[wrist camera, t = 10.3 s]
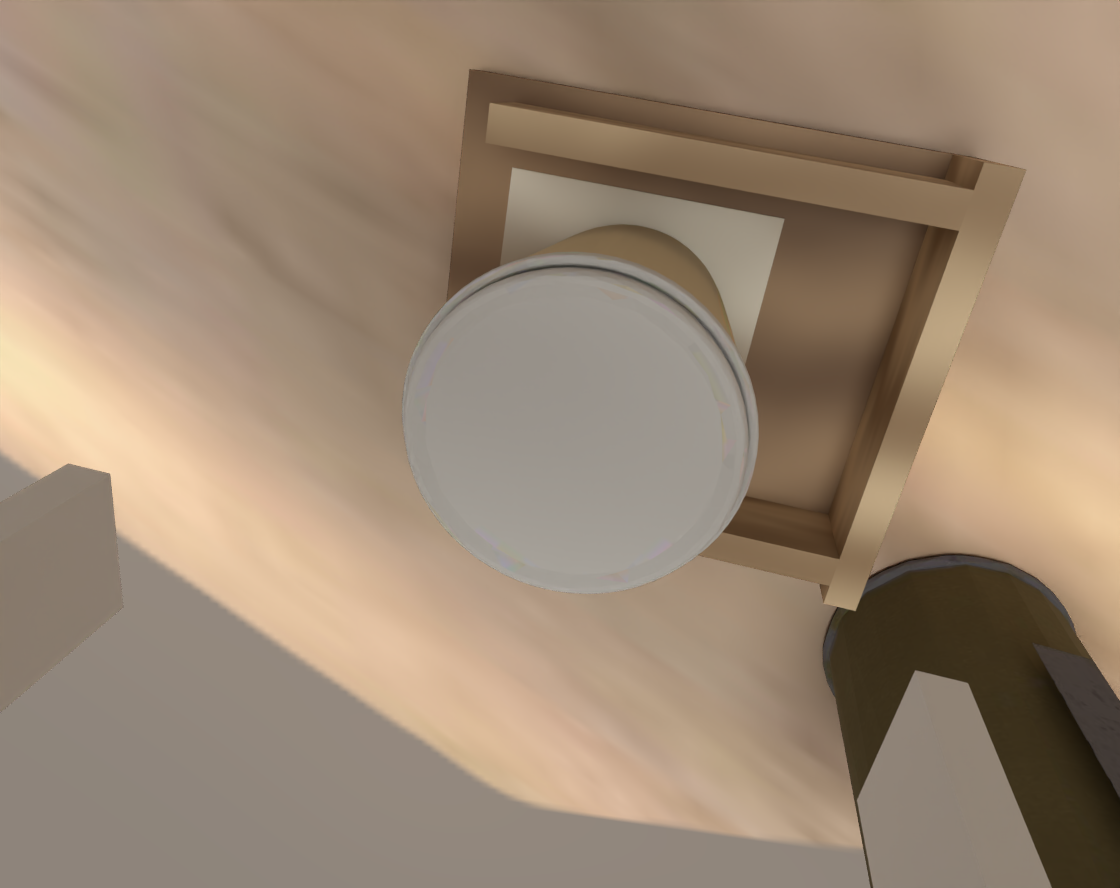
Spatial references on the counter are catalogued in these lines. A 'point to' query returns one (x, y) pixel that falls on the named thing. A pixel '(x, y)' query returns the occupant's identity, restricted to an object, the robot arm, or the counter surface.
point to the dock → (764, 282)
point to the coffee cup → (584, 413)
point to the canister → (991, 696)
